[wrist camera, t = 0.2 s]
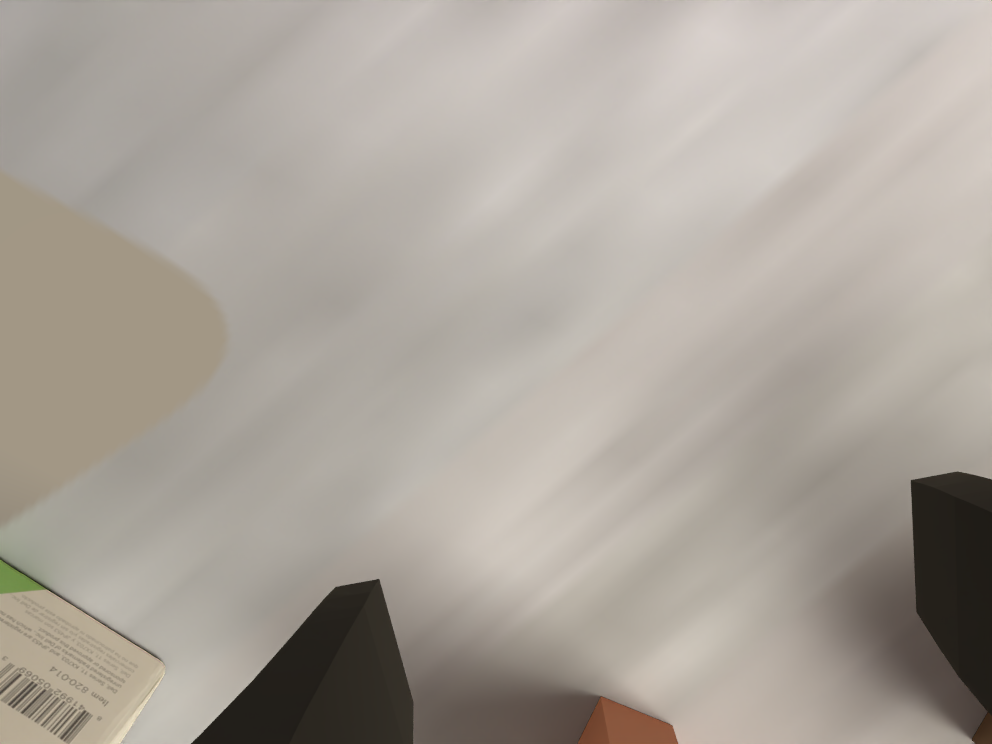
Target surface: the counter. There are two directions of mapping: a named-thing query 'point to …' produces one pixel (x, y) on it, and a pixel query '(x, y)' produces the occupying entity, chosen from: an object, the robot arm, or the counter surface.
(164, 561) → the counter surface
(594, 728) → the domino
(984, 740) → the domino
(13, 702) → the ink box
